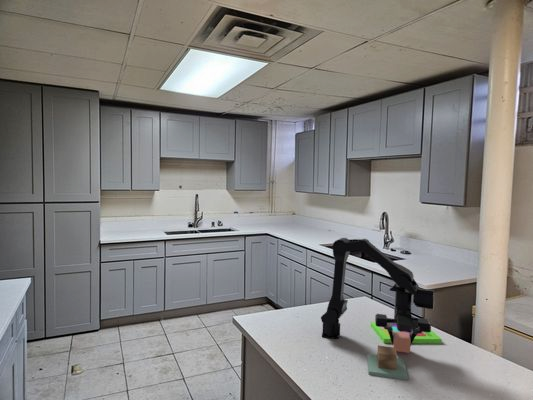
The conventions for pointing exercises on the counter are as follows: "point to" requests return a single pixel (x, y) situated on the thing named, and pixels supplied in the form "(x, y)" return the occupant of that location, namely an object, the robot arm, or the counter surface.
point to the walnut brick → (386, 357)
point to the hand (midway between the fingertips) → (400, 345)
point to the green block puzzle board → (419, 337)
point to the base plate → (374, 370)
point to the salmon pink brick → (401, 341)
